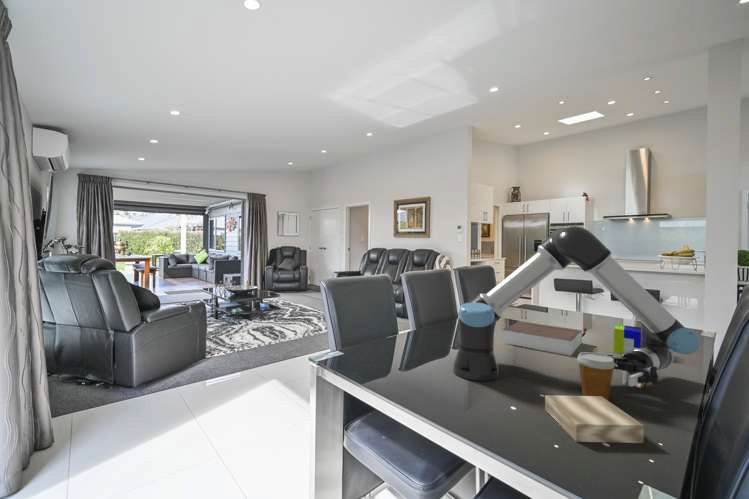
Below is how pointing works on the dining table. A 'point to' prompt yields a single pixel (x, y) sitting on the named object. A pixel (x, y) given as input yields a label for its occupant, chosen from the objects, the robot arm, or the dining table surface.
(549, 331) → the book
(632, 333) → the puzzle toy
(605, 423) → the wooden base block
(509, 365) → the dining table surface
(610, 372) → the disposable coffee cup
